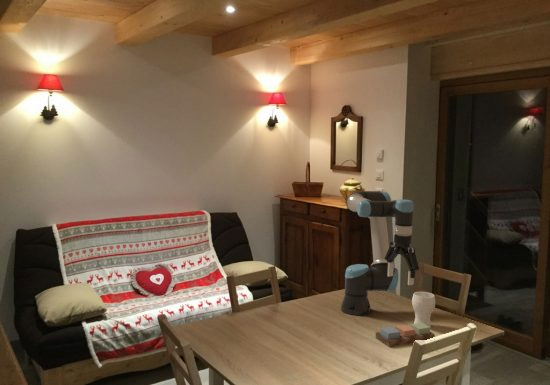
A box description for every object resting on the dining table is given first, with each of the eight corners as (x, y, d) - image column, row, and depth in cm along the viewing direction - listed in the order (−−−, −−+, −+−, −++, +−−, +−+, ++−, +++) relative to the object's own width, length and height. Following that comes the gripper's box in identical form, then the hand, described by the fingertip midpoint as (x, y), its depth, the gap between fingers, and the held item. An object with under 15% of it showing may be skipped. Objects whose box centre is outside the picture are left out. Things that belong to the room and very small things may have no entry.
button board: (388, 346, 206) (388, 341, 206) (375, 337, 215) (375, 332, 215) (434, 339, 215) (434, 334, 215) (420, 331, 224) (420, 326, 224)
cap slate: (380, 335, 214) (380, 328, 213) (391, 333, 216) (391, 326, 216) (388, 340, 208) (388, 333, 208) (399, 338, 210) (400, 331, 210)
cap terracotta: (395, 332, 217) (395, 326, 216) (406, 331, 219) (406, 324, 219) (403, 337, 211) (403, 331, 211) (415, 336, 213) (415, 329, 213)
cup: (435, 330, 226) (437, 299, 224) (411, 328, 228) (413, 297, 226) (432, 322, 236) (434, 292, 234) (410, 320, 238) (411, 290, 237)
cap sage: (410, 330, 220) (410, 324, 219) (421, 329, 222) (421, 322, 221) (418, 335, 214) (419, 329, 214) (429, 333, 216) (430, 327, 216)
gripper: (378, 229, 227) (376, 273, 230) (416, 241, 205) (413, 289, 207) (391, 228, 230) (388, 271, 233) (429, 239, 208) (426, 287, 211)
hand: (400, 280), depth 220 cm, fingers open, 13 cm apart
